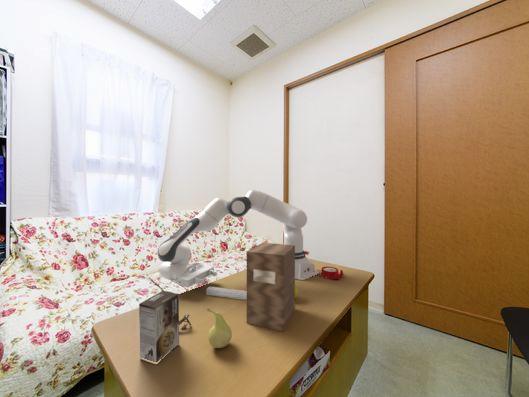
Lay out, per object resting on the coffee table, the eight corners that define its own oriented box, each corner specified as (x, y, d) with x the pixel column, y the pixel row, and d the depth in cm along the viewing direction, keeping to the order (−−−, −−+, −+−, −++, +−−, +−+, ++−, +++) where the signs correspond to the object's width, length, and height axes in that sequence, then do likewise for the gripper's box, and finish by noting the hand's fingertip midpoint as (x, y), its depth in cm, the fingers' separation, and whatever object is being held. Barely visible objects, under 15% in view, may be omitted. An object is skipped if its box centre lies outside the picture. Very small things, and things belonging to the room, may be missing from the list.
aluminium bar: (206, 295, 102) (206, 289, 102) (209, 292, 105) (209, 286, 105) (251, 301, 96) (251, 294, 96) (253, 298, 99) (253, 291, 99)
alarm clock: (324, 265, 134) (347, 265, 124) (326, 275, 133) (350, 276, 123) (315, 269, 127) (339, 269, 116) (317, 280, 126) (341, 281, 115)
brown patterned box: (245, 323, 79) (245, 251, 78) (262, 302, 94) (262, 242, 94) (283, 332, 74) (283, 255, 73) (294, 308, 89) (294, 245, 89)
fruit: (232, 352, 64) (232, 311, 64) (206, 356, 63) (205, 314, 63) (231, 337, 71) (230, 301, 71) (207, 341, 69) (207, 303, 69)
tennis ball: (300, 300, 96) (300, 284, 96) (286, 303, 93) (286, 287, 93) (292, 294, 103) (292, 279, 102) (279, 296, 100) (279, 281, 100)
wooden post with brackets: (194, 323, 77) (189, 314, 76) (172, 341, 73) (166, 331, 72) (192, 321, 79) (187, 311, 78) (171, 338, 74) (165, 328, 73)
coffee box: (163, 340, 70) (163, 289, 70) (180, 344, 68) (179, 292, 68) (138, 360, 61) (138, 303, 61) (156, 366, 59) (156, 307, 59)
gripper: (172, 274, 100) (196, 278, 95) (200, 261, 119) (222, 264, 114) (172, 287, 100) (196, 293, 95) (200, 273, 119) (222, 276, 114)
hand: (210, 277), depth 105 cm, fingers open, 8 cm apart
